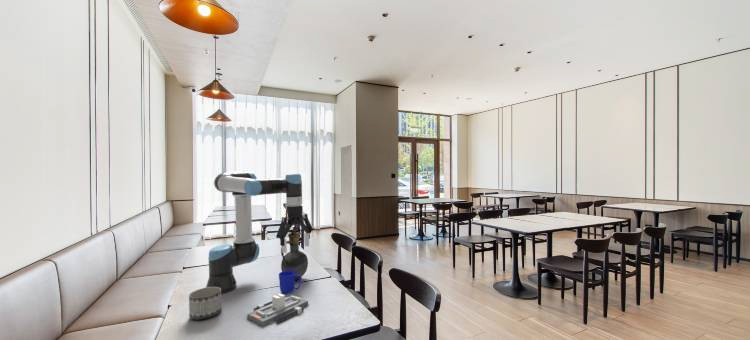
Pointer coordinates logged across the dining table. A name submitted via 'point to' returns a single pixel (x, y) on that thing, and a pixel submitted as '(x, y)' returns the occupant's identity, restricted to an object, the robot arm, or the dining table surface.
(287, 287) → the mug
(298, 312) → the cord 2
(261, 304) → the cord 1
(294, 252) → the pitcher
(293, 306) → the panel
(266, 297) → the dining table surface
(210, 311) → the planter
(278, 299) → the toggle
